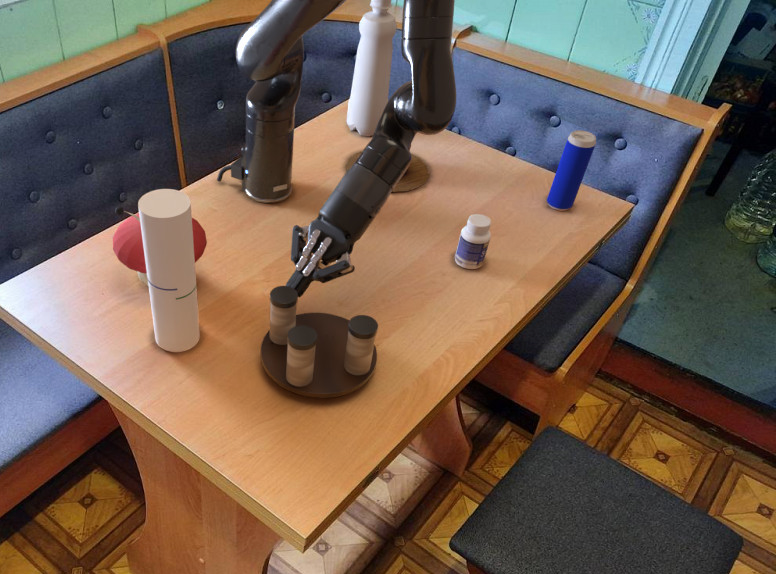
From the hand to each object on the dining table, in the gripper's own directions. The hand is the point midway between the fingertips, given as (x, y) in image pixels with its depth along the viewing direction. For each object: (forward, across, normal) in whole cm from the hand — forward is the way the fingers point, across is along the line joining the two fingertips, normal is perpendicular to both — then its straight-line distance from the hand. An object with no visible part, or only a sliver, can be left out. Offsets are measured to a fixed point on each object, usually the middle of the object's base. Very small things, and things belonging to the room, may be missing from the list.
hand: (290, 295), depth 113 cm
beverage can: (-42, +4, +54) cm, 69 cm away
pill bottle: (-22, +6, +33) cm, 40 cm away
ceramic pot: (-29, -26, +41) cm, 56 cm away
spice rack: (+5, +8, +4) cm, 10 cm away
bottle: (-36, -42, +47) cm, 72 cm away
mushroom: (+12, -24, 0) cm, 27 cm away
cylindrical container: (+16, -10, -5) cm, 20 cm away
